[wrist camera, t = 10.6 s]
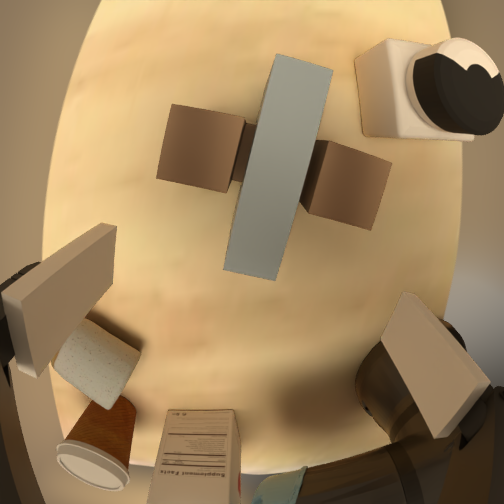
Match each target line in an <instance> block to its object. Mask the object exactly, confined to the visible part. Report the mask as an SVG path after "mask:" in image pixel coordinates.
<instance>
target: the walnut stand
mask: <svg viewBox="0 0 504 504" xmlns="http://www.w3.org/2000/svg"><path fill="white" fill-rule="evenodd" d="M255 129H256V125H252V124H248V123H246V121H245V118H244V117H239V116H235V115H230V114H225V113H220V112H215V111H210V110H205V109H199V108H194V107H188V106H182V105H176V104H172V105H171V109H170V113H169V118H168V122H167V127H166V131H165V136H164V140H163V145H162V150H161V155H160V160H159V165H158V171H157V176H156V179H161V180H166V181H171V182H176V183H181V184H186V185H191V186H195V187H200V188H205V189H209V190H214V191H218V192H223V193H227V191H228V188H229V186H230V183H231V181H232V180H234V181H239V182H242V181H243V177H244V173H245V169H246V165H247V161H248V157H249V153H250V149H251V145H252V141H253V137H254V133H255ZM391 165H392V163H391V162H388V161H385V160H383V159H380V158H378V157H375V156H372V155H369V154H367V153H364V152H361V151H358V150H355V149H353V148H350V147H347V146H344V145H341V144H338V143H335V142H332V141H326V140H315V144H314V148H313V151H312V155H311V159H310V162H309V166H308V170H307V173H306V177H305V181H304V184H303V188H302V191H301V195H300V199H299V202H300V203H301V204H302V206H303V207H304V208H305V210H306V211H307V212H308V213H309V214H313V215H316V216H320V217H324V218H328V219H331V220H335V221H339V222H342V223H346V224H349V225H353V226H357V227H360V228H364V229H367V230H370V231H371V229H372V226H373V223H374V220H375V217H376V214H377V211H378V208H379V205H380V202H381V199H382V195H383V192H384V189H385V186H386V182H387V179H388V176H389V172H390V169H391Z"/></svg>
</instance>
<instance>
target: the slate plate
mask: <svg viewBox="0 0 504 504" xmlns="http://www.w3.org/2000/svg"><path fill="white" fill-rule="evenodd" d="M332 73H333V70H331V69H328V68H325V67H322V66H319V65H315V64H312V63H309V62H305V61H302V60H299V59H295V58H291V57H288V56H284V55H280V54H276V57H275V60H274V63H273V65H272V68H271V71H270V74H269V77H268V80H267V83H266V87H265V90H264V94H263V98H262V102H261V106H260V110H259V114H258V117H257V121H256V122H257V125H256V129H255V133H254V137H253V141H252V145H251V149H250V153H249V157H248V161H247V165H246V169H245V173H244V177H243V181H242V185H241V186H240V190H239V195H238V199H237V203H236V207H235V212H234V216H233V220H232V225H231V230H230V236H229V241H228V246H227V252H226V257H225V263H224V268H223V270H226V271H231V272H235V273H240V274H245V275H249V276H254V277H259V278H263V279H268V280H273V281H276V277H277V274H278V271H279V267H280V264H281V261H282V257H283V254H284V251H285V247H286V244H287V240H288V237H289V234H290V230H291V227H292V223H293V220H294V216H295V213H296V209H297V206H298V202H299V199H300V195H301V191H302V188H303V184H304V181H305V177H306V173H307V170H308V166H309V162H310V159H311V155H312V151H313V148H314V144H315V140H316V136H317V132H318V129H319V125H320V121H321V117H322V113H323V109H324V105H325V101H326V97H327V93H328V89H329V85H330V81H331V77H332Z"/></svg>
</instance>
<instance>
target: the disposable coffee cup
mask: <svg viewBox="0 0 504 504" xmlns="http://www.w3.org/2000/svg"><path fill="white" fill-rule="evenodd" d="M135 418H136V410H135V408H134V406H133V405H132V404H131V403H130V402H129V401H128V400H127V399H125V398H124V397H122V396H120V395H119V397H118V398H117V400H116V401H115V403H114V405H113V406H112V408H111V409H109V410H107V409H105V408H104V407H102V406H101V405H99V404H98V403H96V402H95V401H94V400H92V401H91V403H90V404H89V405H88V407H87V408H86V410H85V411H84V413H83V414H82V415H81V417H80V418H79V420H78V421H77V423H76V424H75V426H74V427H73V429H72V430H71V432H70V433H69V434H68V436H67V437H66V439H65V440H64V441H62V442H61V443H60V444H59V445H57V452H58V453H57V461H58V463H59V464H60V465H61V466H62V467H63V468H64V469H65V470H66V471H67V472H69V473H70V474H71V475H73V476H74V477H76V478H77V479H79V480H81V481H83V482H85V483H87V484H89V485H91V486H94V487H97V488H100V489H104V490H109V491H120V490H122V489H123V488H124V486H125V484H128V483H129V481H130V476H129V472H128V466H129V458H130V451H131V444H132V438H133V431H134V424H135Z"/></svg>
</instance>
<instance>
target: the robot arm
mask: <svg viewBox="0 0 504 504" xmlns="http://www.w3.org/2000/svg"><path fill="white" fill-rule="evenodd" d="M116 231H117V226H114V225H110V224H105V223H100V224H98V225H97V226H95V227H94V228H92V229H90V230H89V231H87V232H86V233H84V234H83V235H81V236H80V237H78V238H76V239H75V240H73V241H72V242H70V243H69V244H67V245H66V246H64V247H63V248H61V249H60V250H58V251H57V252H56V253H54V254H53V255H51V256H50V257H48V258H47V259H45V260H44V261H43V262H36V263H33V264H30V265H28V266H26V267H24V268H23V269H21V270H20V271H19V272H18V274H17V273H16V274H14V275H13V276H12V277H11V279H10V278H9V279H8V280H6V281H5V282H4V283H2V284H1V285H0V504H45V501H44V499H43V496H42V494H41V491H40V488H39V486H38V483H37V480H36V477H35V474H34V471H33V468H32V465H31V462H30V459H29V456H28V452H27V449H26V445H25V442H24V438H23V434H22V430H21V426H20V421H19V416H18V412H17V407H16V401H15V396H14V390H13V383H12V377H11V370H10V367H9V364H8V363H9V362H10V360H11V359H12V358H13V357H14V356H15V359H16V362H17V366H18V369H19V370H21V371H23V372H24V373H26V374H28V375H31V376H33V377H35V378H38V377H39V376H40V374H41V373H42V372H43V370H44V369H45V368H46V366H47V365H48V364H49V362H50V361H51V360H52V358H53V357H54V356H55V354H56V353H57V352H58V350H59V349H60V348H61V346H62V345H63V344H64V342H65V341H66V340H67V339H68V337H69V336H70V335H71V334H72V332H73V331H74V330H75V328H76V327H77V326H78V325H79V323H80V322H81V321H82V320H83V319H84V317H85V316H86V315H87V314H88V312H89V311H90V310H91V309H92V308H93V306H94V305H95V304H96V303H97V302H98V300H99V299H100V298H101V297H102V296H103V294H104V293H105V292H106V291H107V290H108V289H109V287H110V286H111V285H112V284H113V269H114V254H115V242H116ZM380 339H381V342H380V343H379V344H378V345H377V346H376V347H375V348H374V349H373V350H372V351H371V352H370V353H369V354H368V356H367V357H366V358H365V360H364V361H363V363H362V365H361V367H360V368H359V371H358V373H357V377H356V382H355V388H356V393H357V395H358V398H359V401H360V403H361V406H362V407H363V409H364V410H365V411H366V412H367V413H368V414H369V415H370V416H372V417H373V419H374V420H375V421H376V422H377V424H378V425H379V426H380V427H381V428H382V429H383V430H384V431H385V432H386V433H387V434H388V436H389V438H390V440H391V443H392V444H389V445H386V446H383V447H380V448H377V449H374V450H371V451H368V452H365V453H362V454H359V455H356V456H352V457H349V458H345V459H342V460H338V461H334V462H330V463H326V464H322V465H318V466H314V467H309V468H308V466H304V467H302V468H301V469H299V470H295V471H291V472H287V473H282V474H278V475H273V476H270V477H268V478H266V479H265V480H264V481H262V483H261V484H260V485H259V486H258V488H257V489H256V491H255V494H254V496H253V500H252V504H504V387H501V386H497V387H495V388H494V389H493V387H492V386H491V385H490V380H489V379H488V378H487V377H486V375H485V374H484V373H483V371H482V370H481V369H480V368H479V366H478V365H477V364H476V363H475V362H474V360H473V359H472V358H471V357H470V356H469V354H468V353H467V350H466V346H465V343H464V340H463V339H462V337H461V335H460V334H459V333H458V332H457V331H456V330H455V328H454V327H453V326H452V325H451V324H449V323H448V322H446V321H444V320H440V319H438V318H437V317H436V316H435V315H434V314H433V313H432V312H431V311H430V310H429V308H428V307H427V306H426V305H425V304H424V303H423V302H422V301H421V300H420V299H419V298H418V297H417V296H416V295H415V294H414V293H409V292H404V291H403V292H402V294H401V296H400V298H399V301H398V303H397V305H396V307H395V309H394V312H393V314H392V316H391V318H390V320H389V322H388V324H387V326H386V328H385V330H384V332H383V334H382V336H381V338H380Z"/></svg>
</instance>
